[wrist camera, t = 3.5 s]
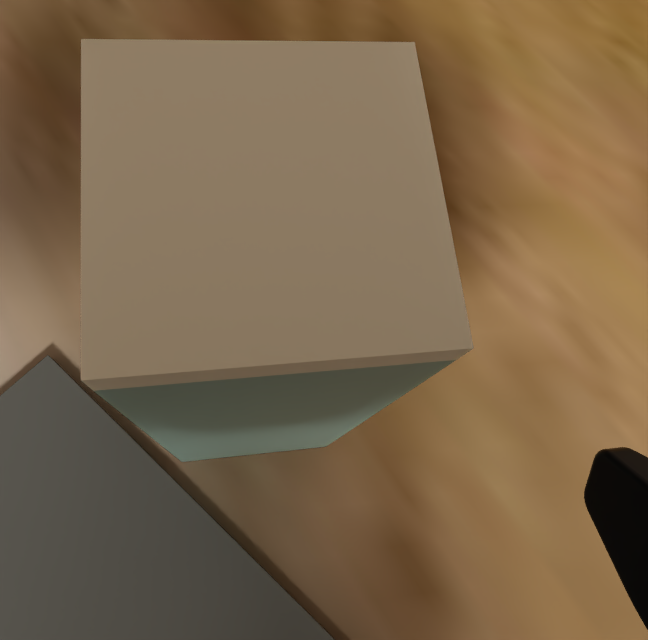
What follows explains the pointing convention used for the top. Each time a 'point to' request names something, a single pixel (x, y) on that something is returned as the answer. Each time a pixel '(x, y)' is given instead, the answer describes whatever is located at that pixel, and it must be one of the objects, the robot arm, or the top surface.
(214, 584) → the mat
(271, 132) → the block
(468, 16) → the top surface
